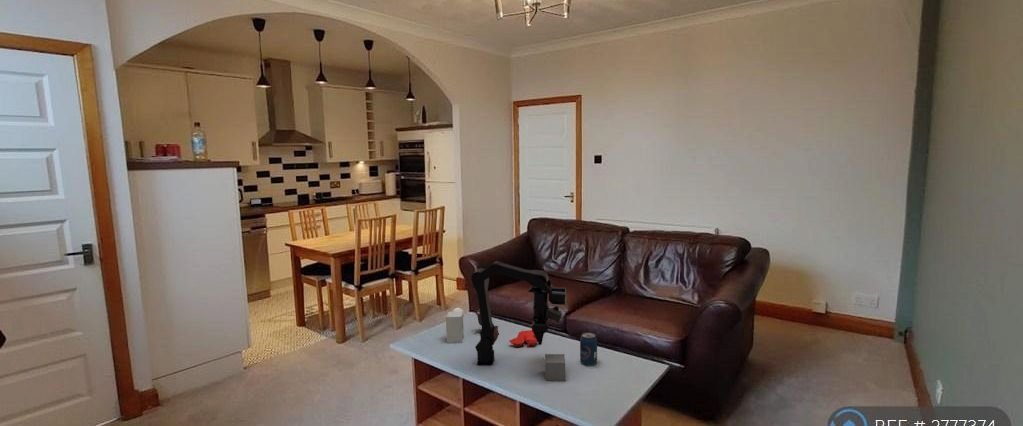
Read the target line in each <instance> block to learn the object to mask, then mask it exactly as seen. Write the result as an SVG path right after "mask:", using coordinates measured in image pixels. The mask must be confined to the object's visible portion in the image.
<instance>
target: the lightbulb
mask: <svg viewBox="0 0 1023 426" xmlns="http://www.w3.org/2000/svg"><path fill="white" fill-rule="evenodd" d="M464 311H465V310H463V308H462V307H455V308H453V309H452V311H451V312H463V318H464V317H465V312H464Z"/></svg>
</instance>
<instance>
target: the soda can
mask: <svg viewBox="0 0 1023 426" xmlns="http://www.w3.org/2000/svg"><path fill="white" fill-rule="evenodd" d="M596 336H597V335H596V334H595V333H593V332H582V334H581V336H580V339H579V353H580V354H579V359H580V362H581V364H582V365H583V366H589V367H592V366H595V365H596V363H597V362H598V338H597V337H596Z"/></svg>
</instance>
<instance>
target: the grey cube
mask: <svg viewBox="0 0 1023 426" xmlns="http://www.w3.org/2000/svg"><path fill="white" fill-rule="evenodd" d="M544 372H545V373H544V375H545V376H544V377H545V378H544V379H545V381H546V382H547V381H549V382H550V381H551V382H566V358H565V353H559V354H558V353H555V354H554V353H545V354H544Z"/></svg>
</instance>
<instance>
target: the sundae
mask: <svg viewBox="0 0 1023 426" xmlns="http://www.w3.org/2000/svg"><path fill="white" fill-rule="evenodd" d="M475 315H477V322H478V324H479V326H481V327H482V323H481V316H480V310H479V308H478V310H477V311H475ZM477 333H478V334H479V335H481V330H479V331H478V332H477Z"/></svg>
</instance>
